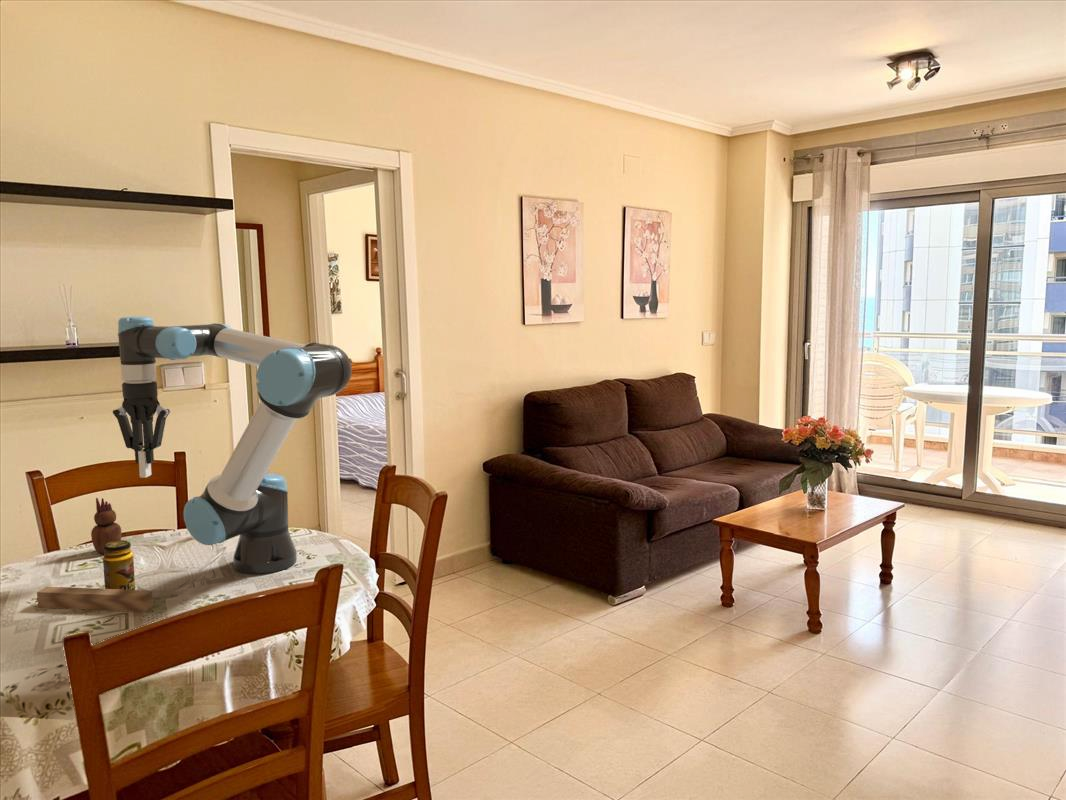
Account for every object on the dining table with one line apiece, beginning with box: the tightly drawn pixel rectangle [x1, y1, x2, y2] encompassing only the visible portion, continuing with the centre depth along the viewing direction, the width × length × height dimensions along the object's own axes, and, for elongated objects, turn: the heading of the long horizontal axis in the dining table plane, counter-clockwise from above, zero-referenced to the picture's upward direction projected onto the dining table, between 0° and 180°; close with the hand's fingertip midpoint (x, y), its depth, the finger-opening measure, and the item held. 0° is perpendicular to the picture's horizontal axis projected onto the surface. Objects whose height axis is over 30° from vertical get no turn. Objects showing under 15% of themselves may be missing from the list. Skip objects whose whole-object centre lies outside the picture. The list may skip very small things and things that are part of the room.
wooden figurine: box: [90, 497, 122, 555], centre depth 196 cm, size 7×6×15 cm
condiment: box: [102, 539, 138, 590], centre depth 170 cm, size 7×8×12 cm
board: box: [36, 586, 154, 613], centre depth 163 cm, size 24×3×4 cm, turn 87°
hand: (145, 476), depth 184 cm, fingers closed
